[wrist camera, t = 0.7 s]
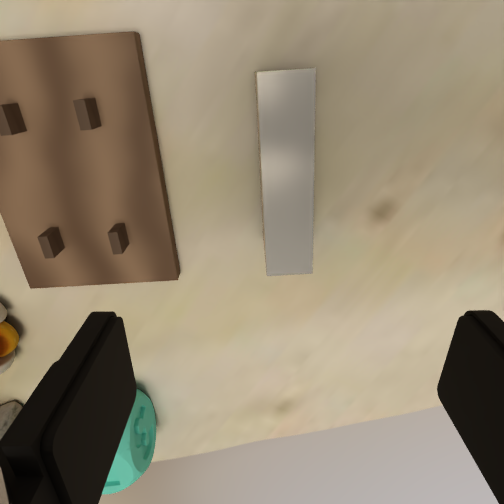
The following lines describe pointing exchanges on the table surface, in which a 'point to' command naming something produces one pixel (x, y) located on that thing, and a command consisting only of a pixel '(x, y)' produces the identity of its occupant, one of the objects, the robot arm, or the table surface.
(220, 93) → the table surface
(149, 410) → the decorative dice
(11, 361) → the rainbow petal toy
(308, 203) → the gray rectangular block
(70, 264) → the brown board
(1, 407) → the decorative stone
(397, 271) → the table surface
